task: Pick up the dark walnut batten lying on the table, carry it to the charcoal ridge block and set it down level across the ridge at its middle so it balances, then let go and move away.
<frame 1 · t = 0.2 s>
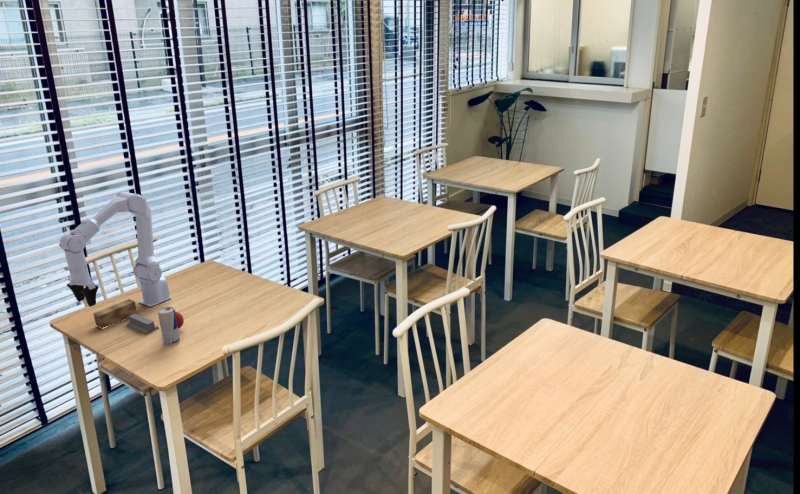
hand: (86, 303, 223), 10 cm above the table, tool pointing down, fingers open, 7 cm apart
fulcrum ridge: (142, 326, 226), on the table
energy drink: (172, 342, 214), on the table
onion: (176, 330, 222), on the table
batten: (117, 320, 232), on the table
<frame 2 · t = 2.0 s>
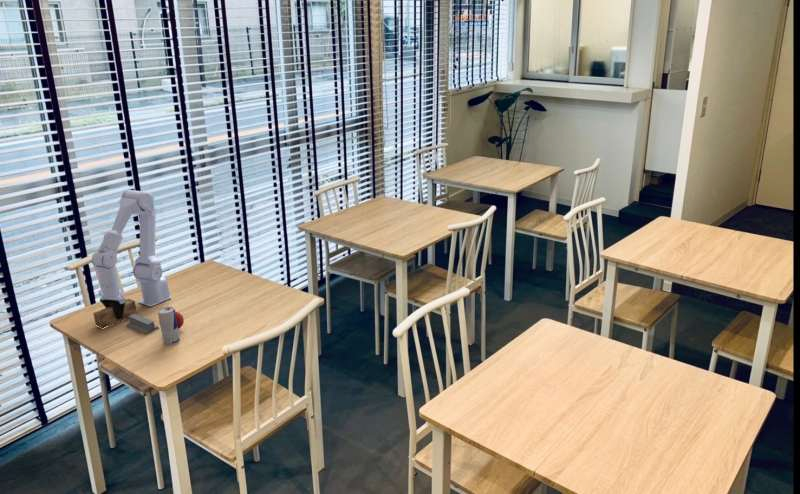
hand: (116, 316, 231), 1 cm above the table, tool pointing down, fingers closed on batten, 4 cm apart
batten: (117, 320, 232), on the table, touching gripper
everything else where it was.
when the fingers open (5 cm above the table, at t = 6.3 s): batten stays where it is, resting on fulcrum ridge.
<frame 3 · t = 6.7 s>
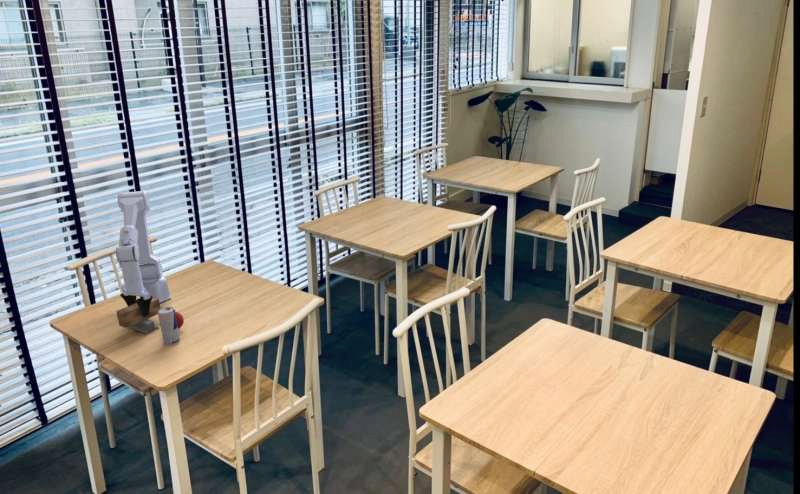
hand: (139, 313, 224), 5 cm above the table, tool pointing down, fingers open, 7 cm apart
batten: (140, 318, 225), point 3 cm above the table, touching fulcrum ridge
everything else where it was.
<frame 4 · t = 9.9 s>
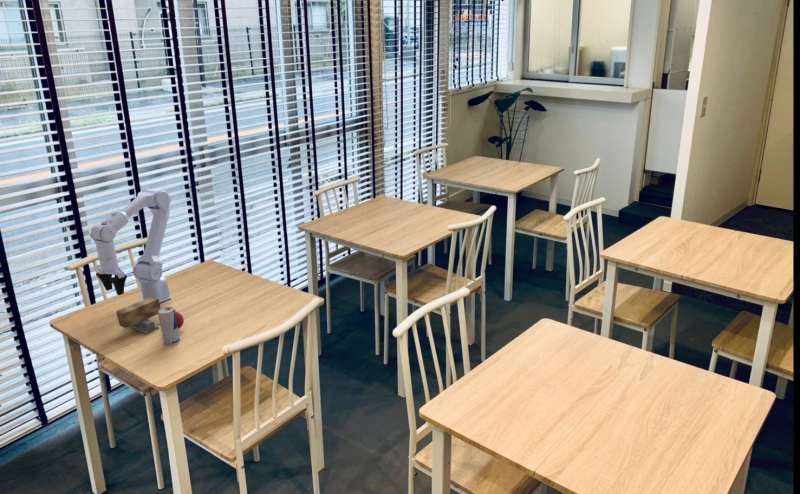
hand: (114, 292, 230), 10 cm above the table, tool pointing down, fingers open, 7 cm apart
nothing on the table moved.
at the end: batten 0.1 cm off-centre on the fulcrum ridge, point 3.2 cm above the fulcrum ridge's base; batten tilted 0°; batten touching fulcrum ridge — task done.
